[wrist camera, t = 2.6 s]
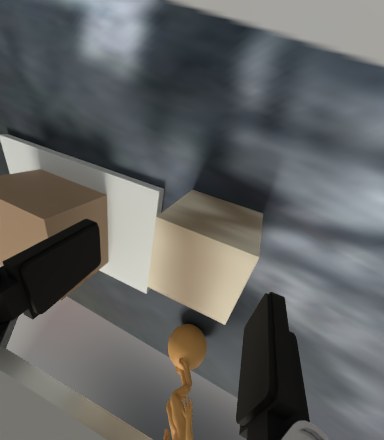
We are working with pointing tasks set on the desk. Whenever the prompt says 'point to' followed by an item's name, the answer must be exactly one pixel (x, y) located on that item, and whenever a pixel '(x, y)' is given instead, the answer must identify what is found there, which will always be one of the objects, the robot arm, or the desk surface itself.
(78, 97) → the desk surface
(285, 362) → the robot arm
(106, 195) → the build board
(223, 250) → the maple block
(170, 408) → the figurine
